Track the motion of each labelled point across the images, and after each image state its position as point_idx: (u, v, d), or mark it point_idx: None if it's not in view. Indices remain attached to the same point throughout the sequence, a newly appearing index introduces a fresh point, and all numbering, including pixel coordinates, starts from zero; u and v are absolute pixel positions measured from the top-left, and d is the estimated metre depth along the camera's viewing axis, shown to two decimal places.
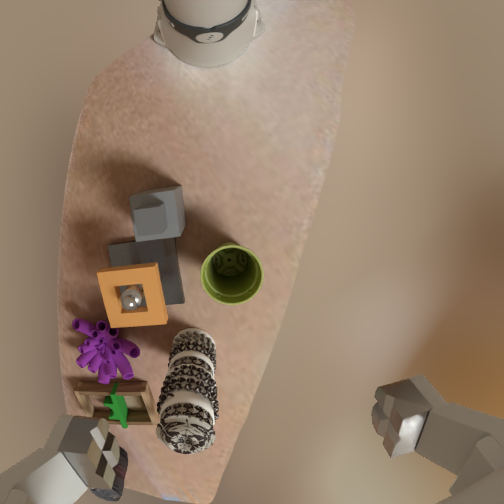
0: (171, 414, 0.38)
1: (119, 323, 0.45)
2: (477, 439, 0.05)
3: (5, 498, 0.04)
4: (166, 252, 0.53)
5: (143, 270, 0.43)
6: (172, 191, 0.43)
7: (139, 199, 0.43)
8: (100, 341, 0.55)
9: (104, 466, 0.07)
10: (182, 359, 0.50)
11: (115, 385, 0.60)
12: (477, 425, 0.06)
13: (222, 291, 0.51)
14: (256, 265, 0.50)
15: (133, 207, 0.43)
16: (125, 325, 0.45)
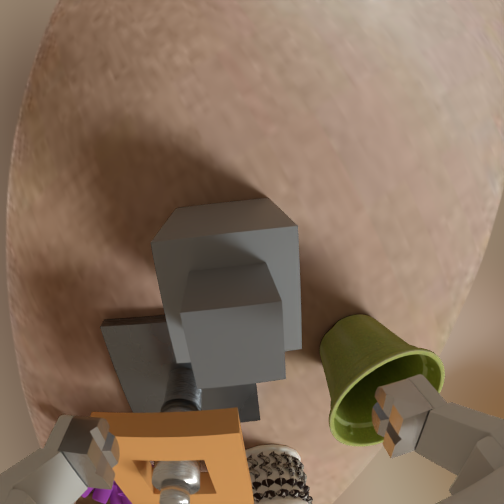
0: None
1: (151, 503, 0.17)
2: (476, 438, 0.05)
3: (5, 498, 0.04)
4: None
5: (208, 440, 0.15)
6: (292, 229, 0.14)
7: (185, 252, 0.14)
8: None
9: (104, 466, 0.07)
10: None
11: None
12: (477, 425, 0.06)
13: (352, 417, 0.23)
14: (425, 370, 0.21)
15: (166, 275, 0.14)
16: None
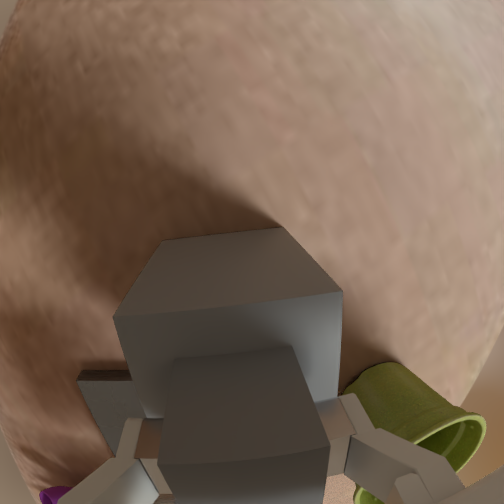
0: None
1: None
2: (402, 473, 0.05)
3: None
4: None
5: None
6: (334, 297, 0.09)
7: (166, 332, 0.09)
8: None
9: None
10: None
11: None
12: (403, 458, 0.05)
13: None
14: (462, 427, 0.15)
15: (140, 362, 0.09)
16: None
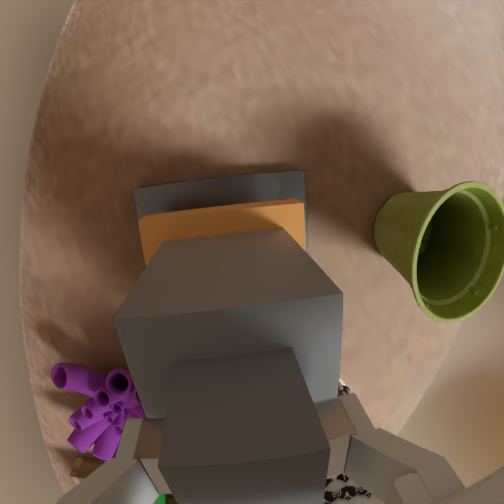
0: None
1: None
2: (402, 473, 0.05)
3: None
4: None
5: (272, 213, 0.17)
6: (335, 299, 0.09)
7: (166, 334, 0.09)
8: (115, 408, 0.24)
9: None
10: None
11: None
12: (403, 458, 0.05)
13: (422, 294, 0.20)
14: (488, 234, 0.19)
15: (140, 364, 0.09)
16: None
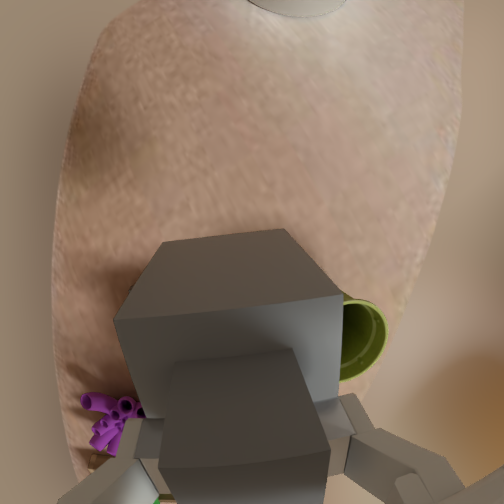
0: None
1: None
2: (402, 472, 0.05)
3: None
4: None
5: None
6: (335, 300, 0.09)
7: (167, 335, 0.09)
8: (123, 420, 0.36)
9: None
10: None
11: None
12: (403, 458, 0.05)
13: None
14: (374, 323, 0.31)
15: (140, 365, 0.09)
16: None
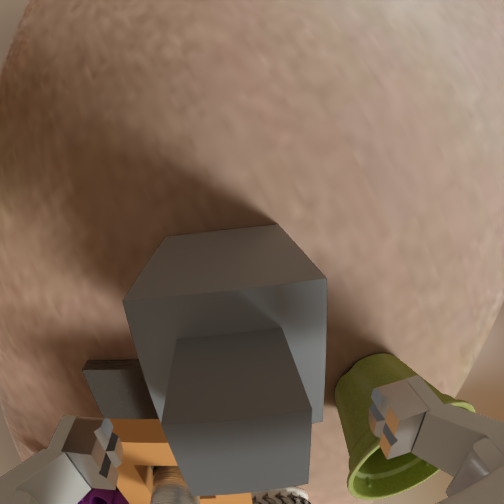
0: None
1: None
2: (473, 440, 0.05)
3: (8, 499, 0.04)
4: None
5: None
6: (319, 283, 0.10)
7: (170, 314, 0.10)
8: None
9: (108, 466, 0.07)
10: None
11: None
12: (474, 427, 0.06)
13: (370, 467, 0.18)
14: None
15: (146, 343, 0.10)
16: None
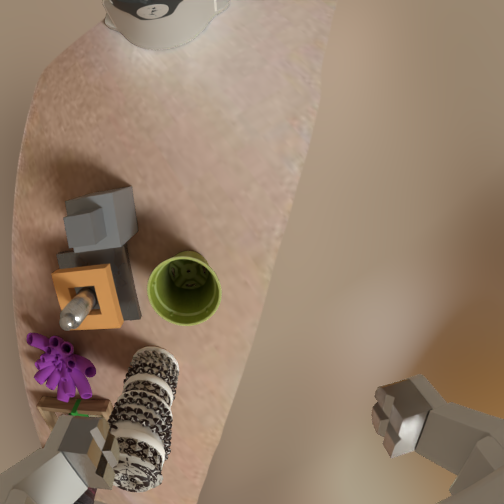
0: None
1: None
2: (476, 439, 0.05)
3: (5, 498, 0.04)
4: (117, 262, 0.45)
5: (94, 272, 0.40)
6: (110, 194, 0.35)
7: (75, 204, 0.35)
8: (56, 357, 0.46)
9: (104, 466, 0.07)
10: (135, 383, 0.42)
11: (77, 402, 0.52)
12: (477, 425, 0.06)
13: (176, 309, 0.43)
14: (214, 279, 0.41)
15: (70, 213, 0.35)
16: (81, 328, 0.42)
